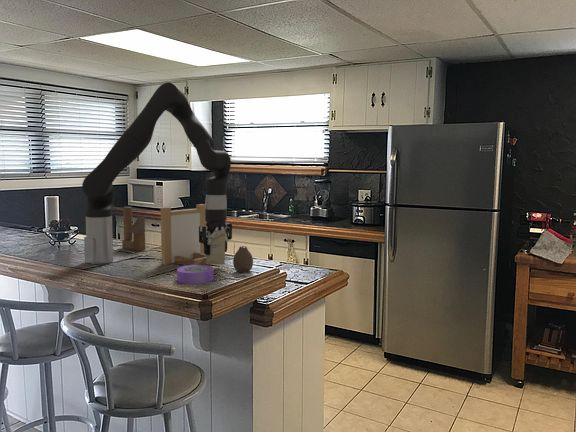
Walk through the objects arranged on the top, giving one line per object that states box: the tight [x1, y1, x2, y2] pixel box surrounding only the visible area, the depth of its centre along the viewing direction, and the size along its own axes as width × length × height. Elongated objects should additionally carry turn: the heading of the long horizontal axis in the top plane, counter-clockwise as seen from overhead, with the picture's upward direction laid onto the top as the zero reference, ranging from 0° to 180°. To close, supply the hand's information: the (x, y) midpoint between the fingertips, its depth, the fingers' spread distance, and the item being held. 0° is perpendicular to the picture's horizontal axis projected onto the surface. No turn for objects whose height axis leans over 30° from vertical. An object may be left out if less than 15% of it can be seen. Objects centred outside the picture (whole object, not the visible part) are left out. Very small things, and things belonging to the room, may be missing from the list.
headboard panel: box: [160, 203, 207, 266], centre depth 189 cm, size 20×3×21 cm, turn 141°
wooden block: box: [121, 206, 146, 251], centre depth 213 cm, size 4×11×18 cm, turn 58°
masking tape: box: [176, 264, 215, 285], centre depth 160 cm, size 12×12×4 cm
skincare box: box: [206, 229, 226, 265], centre depth 176 cm, size 6×4×12 cm
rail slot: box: [174, 253, 208, 266], centre depth 186 cm, size 10×11×2 cm
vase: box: [232, 245, 254, 273], centre depth 172 cm, size 7×7×9 cm
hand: (215, 253), depth 177 cm, fingers closed on skincare box, 7 cm apart
